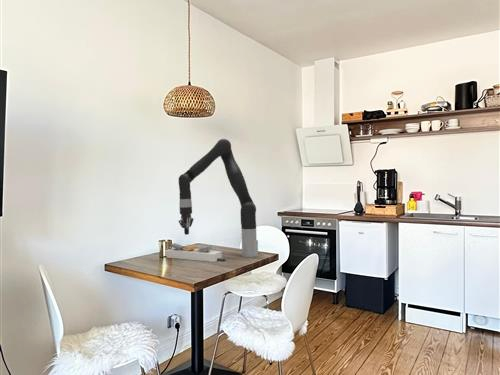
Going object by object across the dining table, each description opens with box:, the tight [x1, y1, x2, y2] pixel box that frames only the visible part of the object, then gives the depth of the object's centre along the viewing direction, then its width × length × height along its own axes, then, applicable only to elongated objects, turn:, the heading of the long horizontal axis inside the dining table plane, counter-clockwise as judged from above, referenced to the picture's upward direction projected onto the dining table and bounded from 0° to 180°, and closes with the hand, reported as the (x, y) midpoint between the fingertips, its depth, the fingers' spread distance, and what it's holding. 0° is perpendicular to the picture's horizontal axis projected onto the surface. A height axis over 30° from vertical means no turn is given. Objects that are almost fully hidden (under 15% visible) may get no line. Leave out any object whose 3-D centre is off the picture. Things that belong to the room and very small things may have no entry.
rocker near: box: [198, 245, 213, 252], centre depth 218 cm, size 7×4×2 cm, turn 63°
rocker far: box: [170, 242, 185, 250], centre depth 227 cm, size 7×4×2 cm, turn 64°
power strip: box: [165, 247, 226, 263], centre depth 222 cm, size 43×9×5 cm, turn 64°
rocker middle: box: [184, 244, 198, 250], centre depth 223 cm, size 7×4×2 cm, turn 64°
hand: (186, 234), depth 224 cm, fingers closed
